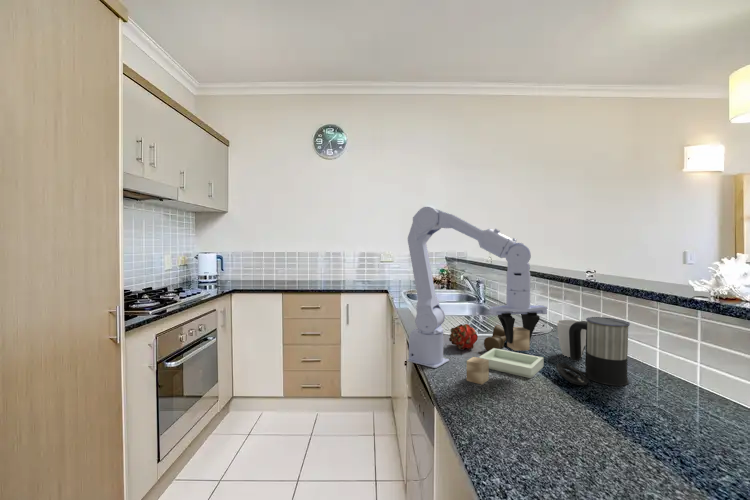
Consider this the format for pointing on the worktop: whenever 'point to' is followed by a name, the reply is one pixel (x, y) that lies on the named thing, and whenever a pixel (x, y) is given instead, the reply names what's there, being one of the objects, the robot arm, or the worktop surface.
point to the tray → (513, 362)
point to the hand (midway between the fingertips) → (518, 342)
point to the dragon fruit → (463, 336)
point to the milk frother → (599, 352)
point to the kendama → (495, 339)
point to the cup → (564, 336)
